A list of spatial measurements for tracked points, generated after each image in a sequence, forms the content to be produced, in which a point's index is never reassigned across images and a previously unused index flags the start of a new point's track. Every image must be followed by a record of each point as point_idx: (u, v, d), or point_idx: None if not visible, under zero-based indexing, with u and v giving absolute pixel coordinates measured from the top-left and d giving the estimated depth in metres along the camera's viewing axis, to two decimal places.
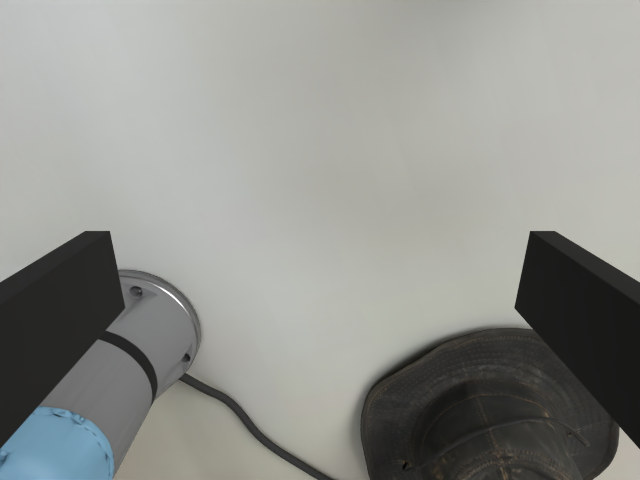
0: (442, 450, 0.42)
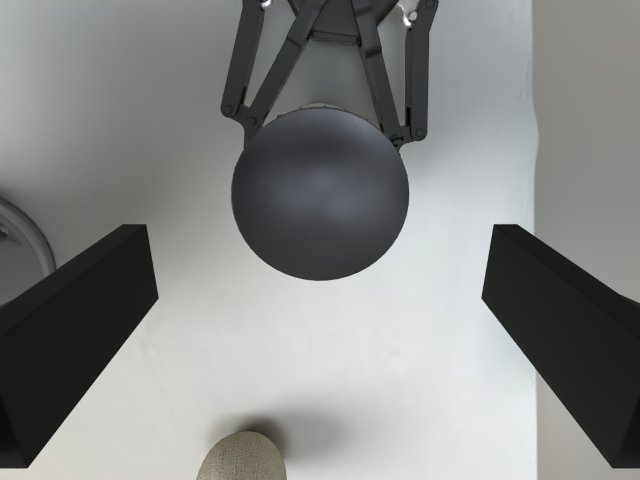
0: None
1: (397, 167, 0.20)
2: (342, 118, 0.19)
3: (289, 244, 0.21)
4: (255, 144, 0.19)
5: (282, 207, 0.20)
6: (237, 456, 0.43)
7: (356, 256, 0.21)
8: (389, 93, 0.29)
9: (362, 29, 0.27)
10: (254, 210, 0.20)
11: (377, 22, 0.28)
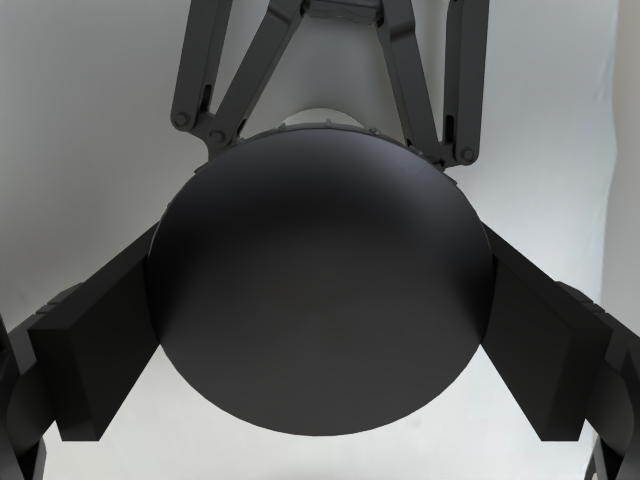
0: None
1: (476, 245, 0.10)
2: (367, 150, 0.09)
3: (262, 379, 0.11)
4: (187, 202, 0.09)
5: (247, 317, 0.10)
6: None
7: (387, 398, 0.11)
8: (424, 95, 0.19)
9: None
10: (193, 322, 0.11)
11: None
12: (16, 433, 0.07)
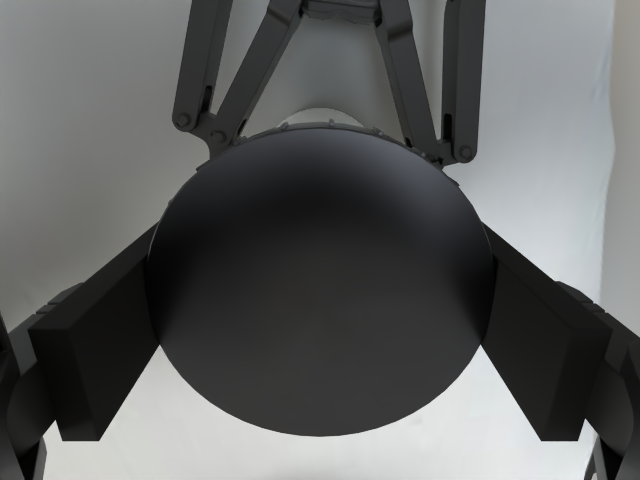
0: None
1: (216, 174, 0.09)
2: (158, 295, 0.10)
3: (415, 345, 0.11)
4: (243, 412, 0.12)
5: (343, 364, 0.11)
6: None
7: (432, 217, 0.09)
8: (422, 94, 0.19)
9: None
10: (356, 403, 0.12)
11: None
12: (16, 433, 0.07)
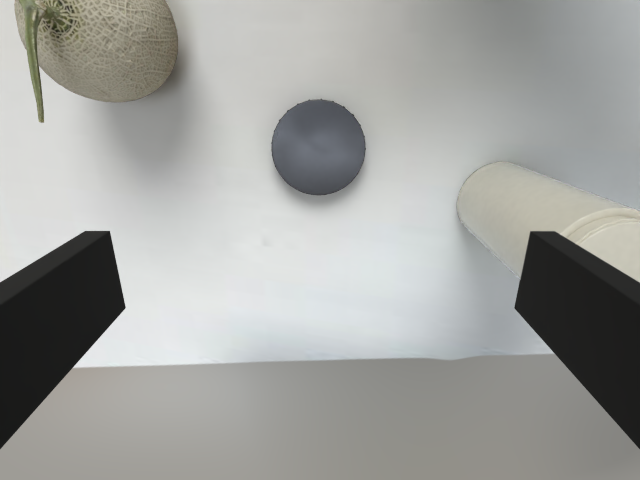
0: None
1: (292, 112, 0.37)
2: (275, 146, 0.38)
3: (345, 161, 0.39)
4: (296, 185, 0.40)
5: (325, 168, 0.39)
6: (170, 43, 0.31)
7: (346, 123, 0.37)
8: None
9: None
10: (329, 182, 0.39)
11: None
12: None
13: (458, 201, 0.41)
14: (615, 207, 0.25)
